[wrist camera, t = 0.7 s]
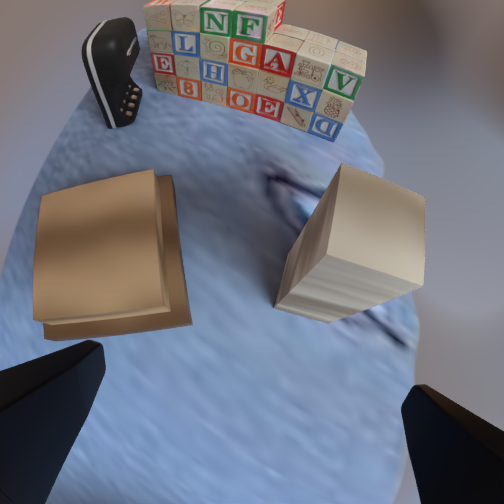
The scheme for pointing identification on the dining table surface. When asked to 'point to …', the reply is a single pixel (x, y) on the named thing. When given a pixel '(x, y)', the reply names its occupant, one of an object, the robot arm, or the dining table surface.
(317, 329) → the dining table surface
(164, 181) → the wooden base plate
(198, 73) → the stack of blocks
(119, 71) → the battery charger
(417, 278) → the ash block
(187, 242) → the dining table surface
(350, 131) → the dining table surface
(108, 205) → the maple block
